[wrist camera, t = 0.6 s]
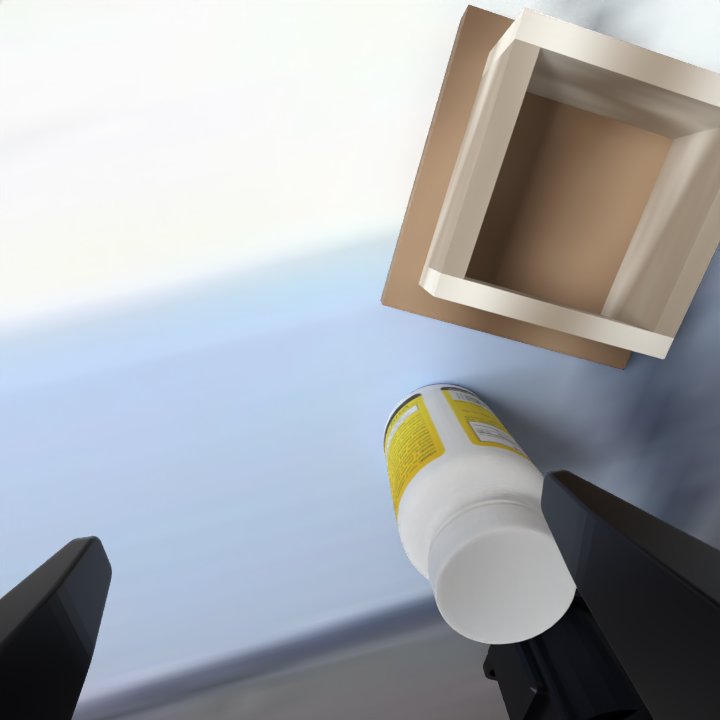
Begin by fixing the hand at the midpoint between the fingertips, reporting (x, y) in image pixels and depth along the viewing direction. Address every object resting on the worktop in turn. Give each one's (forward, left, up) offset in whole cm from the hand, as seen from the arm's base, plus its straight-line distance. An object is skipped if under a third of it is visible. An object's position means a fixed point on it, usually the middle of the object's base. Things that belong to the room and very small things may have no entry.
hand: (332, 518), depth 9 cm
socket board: (-6, -8, -12) cm, 16 cm away
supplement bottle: (-5, +3, -12) cm, 14 cm away
